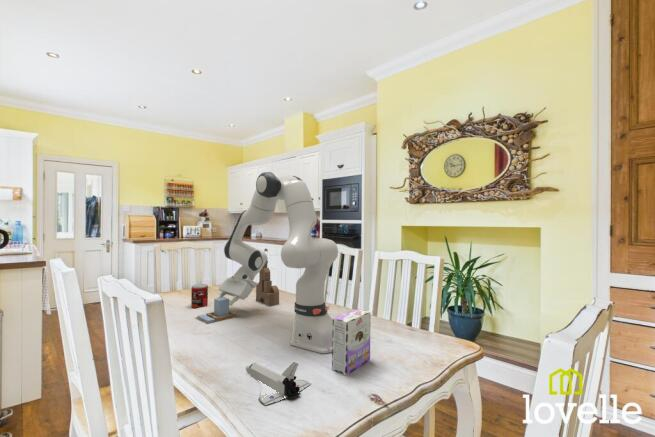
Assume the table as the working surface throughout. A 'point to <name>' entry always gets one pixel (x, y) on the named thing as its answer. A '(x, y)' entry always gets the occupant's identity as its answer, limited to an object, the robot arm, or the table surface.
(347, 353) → the candy box
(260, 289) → the wooden toy
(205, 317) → the plate
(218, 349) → the table surface
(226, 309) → the block
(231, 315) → the tray
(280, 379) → the space shuttle model
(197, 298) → the canned food
